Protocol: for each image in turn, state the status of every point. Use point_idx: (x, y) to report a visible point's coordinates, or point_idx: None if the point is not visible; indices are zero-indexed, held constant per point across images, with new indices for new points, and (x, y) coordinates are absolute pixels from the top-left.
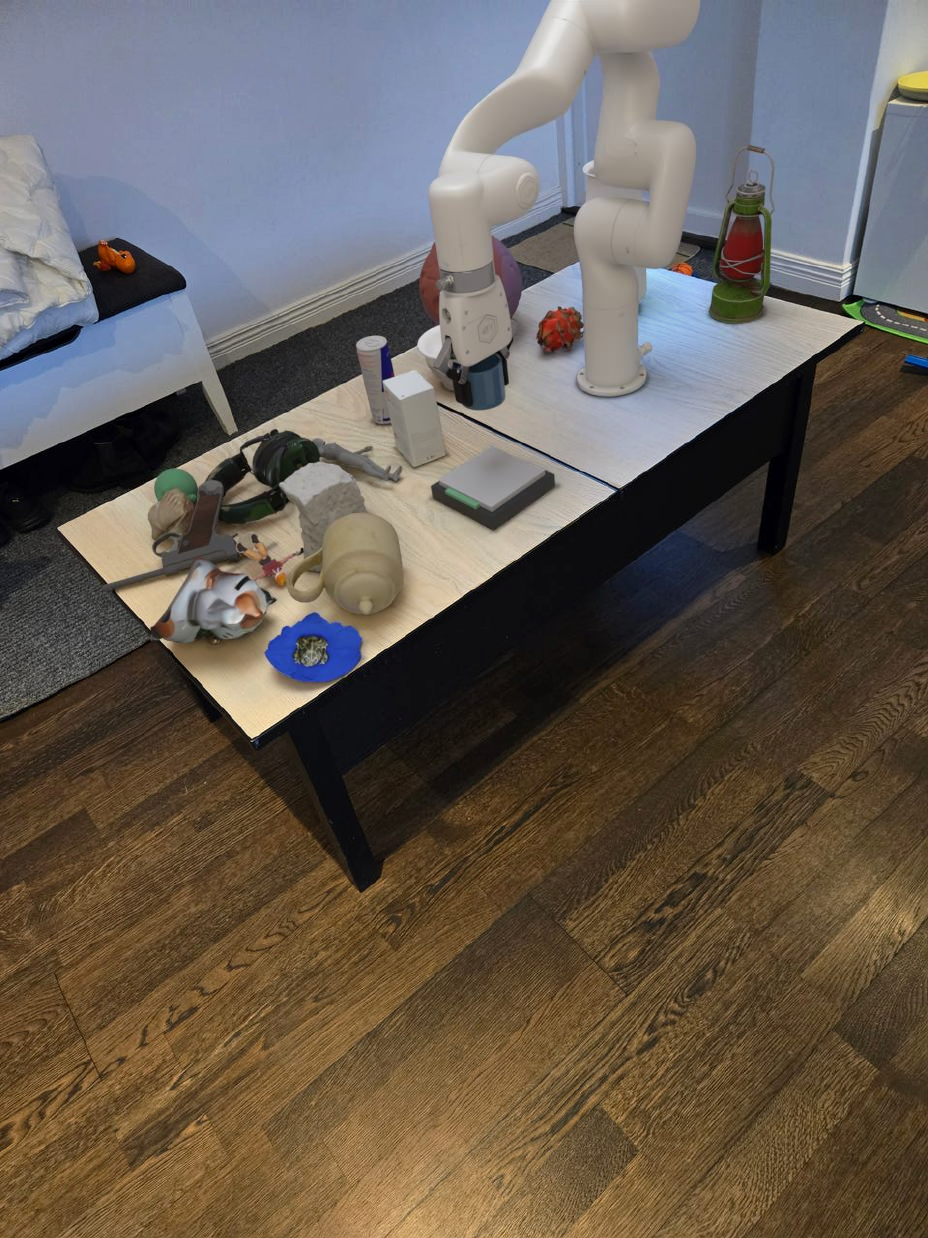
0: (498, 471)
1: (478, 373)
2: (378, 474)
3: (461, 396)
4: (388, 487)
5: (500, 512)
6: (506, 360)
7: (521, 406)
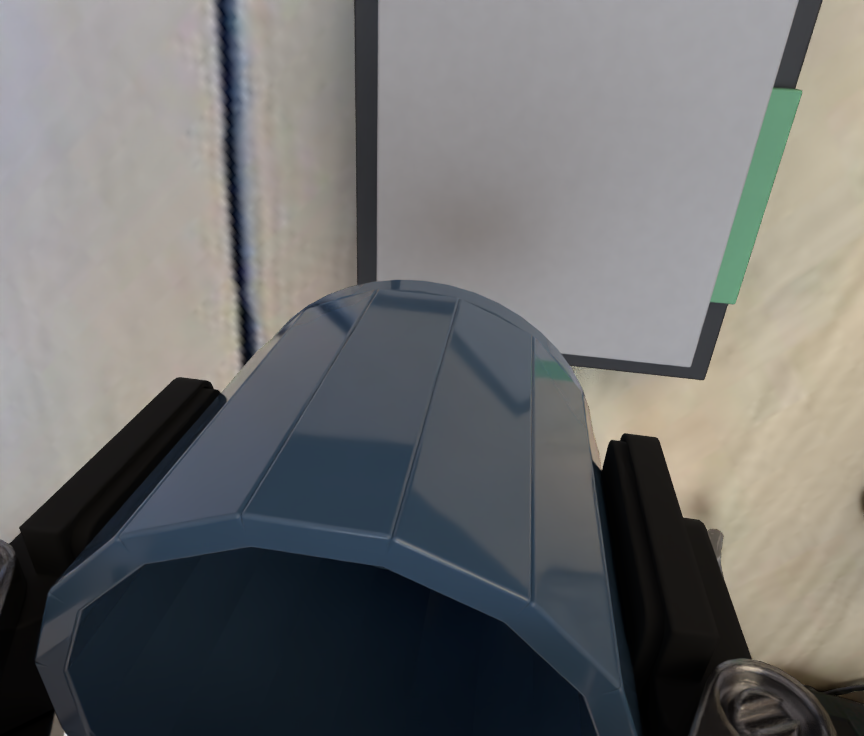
0: (513, 179)
1: (574, 643)
2: (720, 567)
3: (714, 559)
4: (697, 510)
5: None
6: (26, 525)
7: (99, 420)
